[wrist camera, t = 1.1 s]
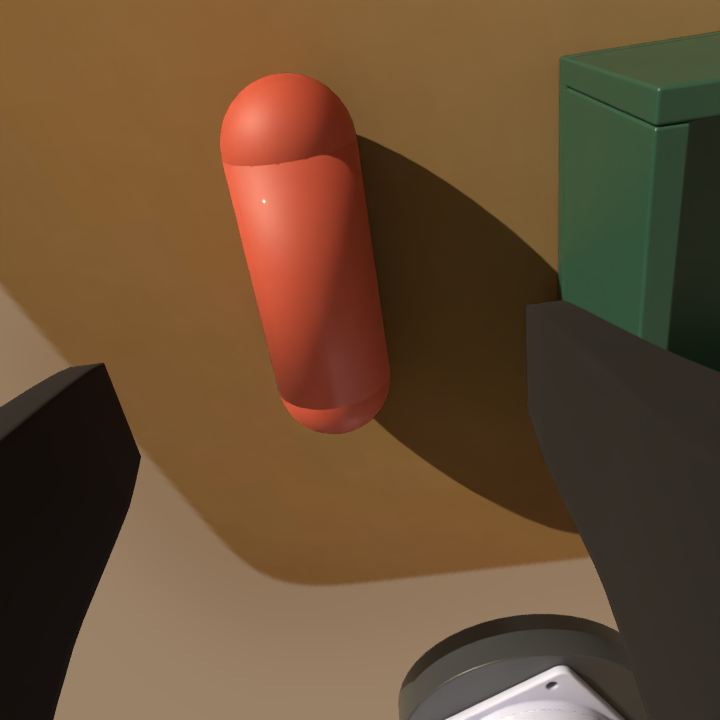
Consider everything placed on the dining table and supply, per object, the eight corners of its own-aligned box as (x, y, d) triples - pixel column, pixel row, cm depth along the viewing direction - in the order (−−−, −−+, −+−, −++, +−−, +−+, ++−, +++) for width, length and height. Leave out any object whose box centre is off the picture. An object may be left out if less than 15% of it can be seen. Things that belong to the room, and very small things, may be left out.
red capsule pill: (406, 394, 19) (382, 460, 16) (309, 392, 20) (273, 454, 17) (362, 55, 14) (320, 76, 12) (239, 72, 15) (177, 95, 13)
